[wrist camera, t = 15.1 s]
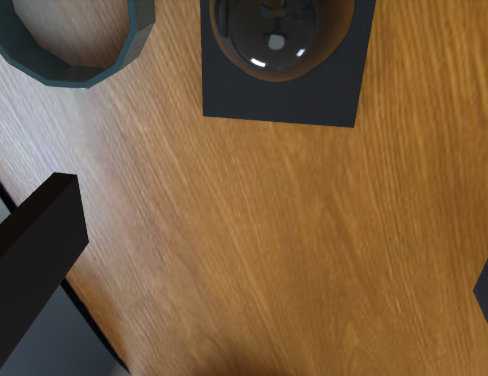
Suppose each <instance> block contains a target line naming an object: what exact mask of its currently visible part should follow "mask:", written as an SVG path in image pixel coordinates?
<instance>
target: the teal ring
mask: <svg viewBox="0 0 488 376" xmlns="http://www.w3.org/2000/svg"><path fill="white" fill-rule="evenodd" d="M127 2H128V11H129V20H130V31H129V33H128V35H127V38H126V40H125V42H124V45H123V47H122V49H121V51H120V54H119V56H118V58H117V61H116V62H115V63H113V64H111V65H109V66H108V67H106V68H101V67H86V66H72V65H70V64H69V63H67V62H65V61H64V60H62V59H60V58H59V57H57V56H55V55H54V54H52V53H50V52H49V51H47V50H46V49H44V48H42V47H41V46H39V45H38V43H37V42H36V41H35V39H34V38H33V37H32V35H31V34H30V32H29V31H28V30H27V28H26V27H25V26H24V24H23V23H22V21H21V20H20V19H19V17H18V16H17V14H16V13H15V12H14V7H13V3H12V0H0V54H1V55H2V56H3V58H4V59H5V60H6V61H7V62H8V63H9V64H10V65H12V66H14V67H16V68H17V69H19V70H21V71H22V72H24V73H26V74H27V75H29V76H31V77H32V78H34V79H36V80H38V81H39V82H41V83H43V84H44V85H46V86H52V87H66V88H80V89H89V88H90V87H92V86H94V85H96V84H97V83H99V82H101V81H103V80H104V79H106V78H108V77H110V76H111V75H113V74H115V73H117V72H118V71H120V70H121V69H123V68H124V67H125V66H127V65H128V64H129V63H131V62H132V61H133V60H135V59H136V58H137V57H138V56H139V55H140V53H141V51H142V48H143V46H144V44H145V42H146V40H147V38H148V36H149V33H150V31H151V29H152V27H153V25H154V23H155V12H154V0H127Z"/></svg>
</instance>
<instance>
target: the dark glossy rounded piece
mask: <svg viewBox="0 0 488 376" xmlns="http://www.w3.org/2000/svg"><path fill="white" fill-rule="evenodd" d="M356 6H357V0H209V14H210V22H211V27H212V31H213V34H214V37H215V40H216V42H217V44H218V46H219V48H220V50H221V52H222V53H223V55H224V56H225V58H226V59H227V60H228V61H229V62H230V64H231V65H232V66H233V67H235V68H236V69H237V70H238V71H239V72H241V73H242V74H244V75H245V76H247V77H249V78H251V79H254V80H256V81H259V82H263V83H268V84H286V83H292V82H296V81H299V80H302V79H304V78H306V77H308V76H310V75H312V74H314V73H315V72H317V71H318V70H320V69H321V68H322V67H324V66H325V65H326V64H327V63H328V62H329V61H330V60H331V59H332V58H333V57H334V56H335V54H336V53H337V52H338V50H339V49H340V48H341V46H342V45H343V43H344V41H345V39H346V37H347V35H348V33H349V31H350V28H351V26H352V23H353V20H354V16H355V12H356Z"/></svg>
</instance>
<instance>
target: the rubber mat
mask: <svg viewBox="0 0 488 376" xmlns="http://www.w3.org/2000/svg"><path fill="white" fill-rule="evenodd" d="M375 2H376V0H357V6H356V12H355V16H354V20H353V23H352V26H351V28H350V31H349V33H348V35H347V37H346V39H345V41H344V43H343V45H342V46H341V48H340V49H339V50H338V52H337V53H336V54H335V56H334V57H333V58H332V59H331V60H330V61H329V62H328V63H327V64H326V65H325V66H324V67H322V68H321V69H320V70H318V71H317V72H315V73H314V74H312V75H310V76H308V77H306V78H304V79H302V80H299V81H296V82H292V83H286V84H268V83H263V82H259V81H256V80H254V79H251V78H249V77H247V76H245V75H244V74H242V73H241V72H239V71H238V70H237V69H236V68H235V67H233V66H232V65H231V64H230V62H229V61H228V60H227V59H226V58H225V56H224V55H223V53H222V52H221V50H220V48H219V46H218V44H217V42H216V40H215V37H214V34H213V31H212V27H211V22H210V14H209V0H200V8H201V48H202V89H203V116H206V117H220V118H233V119H246V120H259V121H272V122H285V123H298V124H311V125H324V126H337V127H350V128H354V123H355V118H356V112H357V106H358V100H359V94H360V89H361V83H362V77H363V71H364V66H365V60H366V54H367V48H368V43H369V37H370V31H371V25H372V19H373V14H374V8H375Z"/></svg>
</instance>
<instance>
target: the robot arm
mask: <svg viewBox="0 0 488 376" xmlns="http://www.w3.org/2000/svg"><path fill="white" fill-rule="evenodd" d="M88 243H89V240H88V234H87V229H86V223H85V217H84V211H83V206H82V200H81V194H80V189H79V183H78V177H77V175H74V174H66V173H57V172H54V173H53V174H52V175H51V176H50V177H49V178H48V179H47V180H46V181H45V182H43V183H42V184H41V185H40V186H39V187H38V188H37V189H36V190H35V191H34V192H33V193H32V194H31V195H30V196H29V197H28V198H27V199H26V200H25V201H24V202H23V203H22V204H21V205H19V206H18V207H17V208H16V209H15V210H14V211H13V212H12V213H11V214H10V215H9V216H8V217H7V218H6V219H5V220H4V221H3V222H2V223H1V224H0V369H1V367H2V366H3V364H4V363H5V362H6V360H7V359H8V357H9V356H10V354H11V353H12V352H13V350H14V349H15V347H16V346H17V344H18V343H19V342H20V340H21V338H22V337H23V336H24V334H25V333H26V331H27V330H28V329H29V327H30V325H31V324H32V323H33V321H34V320H35V319H36V317H37V316H38V314H39V313H40V312H41V310H42V309H43V307H44V306H45V304H46V303H47V302H48V300H49V299H50V297H51V296H52V294H53V293H54V292H55V290H56V289H57V287H58V286H59V284H60V283H61V282H62V280H63V279H64V277H65V276H66V274H67V273H68V272H69V270H70V269H71V267H72V266H73V264H74V263H75V262H76V260H77V259H78V257H79V256H80V254H81V253H82V252H83V250H84V249H85V247H86V246H87V244H88ZM473 292H474V295H475V297H476V299H477V301H478V303H479V306H480V308H481V310H482V312H483V314H484V317H485V319H486V321H487V323H488V259H487V261H486V263H485V265H484V268H483V270H482V272H481V274H480V276H479V278H478V281H477V283H476V285H475V287H474V289H473Z"/></svg>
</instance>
